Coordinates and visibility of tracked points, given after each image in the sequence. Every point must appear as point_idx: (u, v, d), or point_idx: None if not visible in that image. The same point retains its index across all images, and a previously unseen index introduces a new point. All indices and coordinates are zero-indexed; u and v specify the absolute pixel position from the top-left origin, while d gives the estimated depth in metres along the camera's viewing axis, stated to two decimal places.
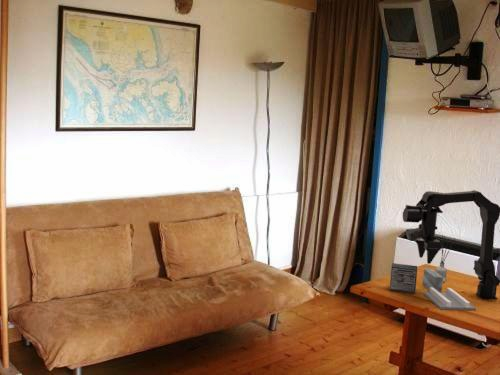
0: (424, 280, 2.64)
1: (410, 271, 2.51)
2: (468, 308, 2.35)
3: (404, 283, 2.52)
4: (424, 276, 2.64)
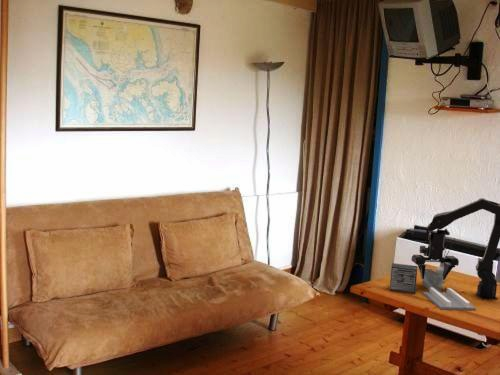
0: (424, 280, 2.64)
1: (410, 271, 2.51)
2: (468, 308, 2.35)
3: (404, 283, 2.52)
4: (424, 276, 2.64)
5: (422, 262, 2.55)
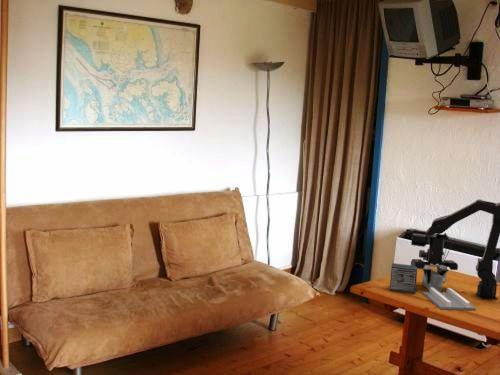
0: (424, 279, 2.64)
1: (410, 271, 2.51)
2: (468, 308, 2.35)
3: (404, 283, 2.52)
4: (424, 276, 2.64)
5: (421, 266, 2.55)
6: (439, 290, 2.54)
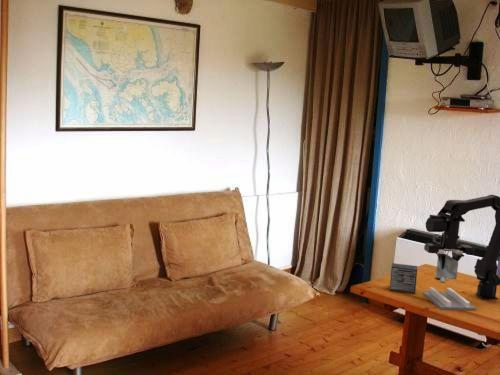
0: (438, 265, 2.51)
1: (410, 271, 2.51)
2: (468, 308, 2.35)
3: (404, 283, 2.52)
4: (438, 261, 2.51)
5: (435, 251, 2.42)
6: (454, 276, 2.41)
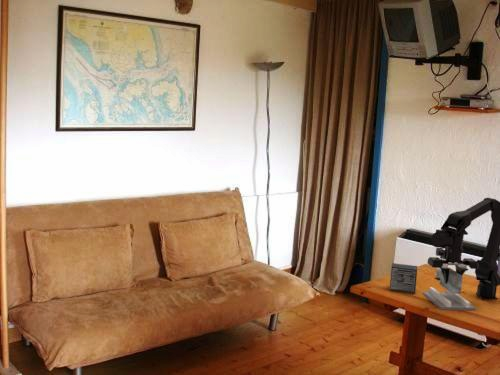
0: (441, 279, 2.47)
1: (410, 271, 2.51)
2: (468, 308, 2.35)
3: (404, 283, 2.52)
4: (441, 275, 2.47)
5: (439, 265, 2.38)
6: (458, 290, 2.37)
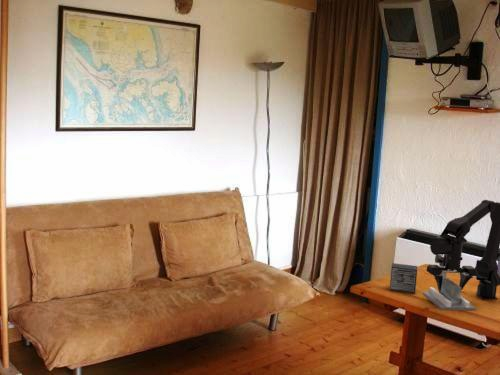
0: None
1: (410, 271, 2.51)
2: (468, 308, 2.35)
3: (404, 283, 2.52)
4: None
5: (438, 273, 2.38)
6: (457, 301, 2.38)
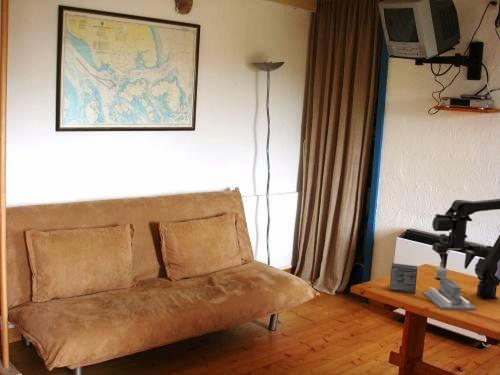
0: (440, 290, 2.47)
1: (410, 271, 2.51)
2: (468, 308, 2.35)
3: (404, 283, 2.52)
4: (440, 286, 2.48)
5: (444, 251, 2.45)
6: (457, 301, 2.38)
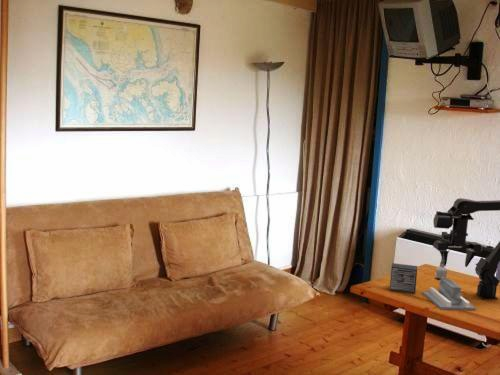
0: (440, 290, 2.47)
1: (410, 271, 2.51)
2: (468, 308, 2.35)
3: (404, 283, 2.52)
4: (440, 286, 2.48)
5: (444, 248, 2.47)
6: (457, 301, 2.38)
